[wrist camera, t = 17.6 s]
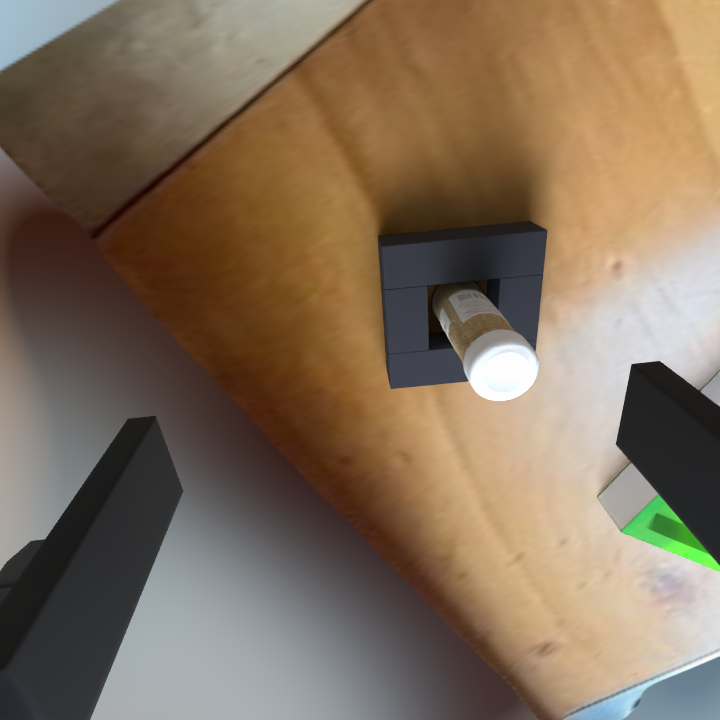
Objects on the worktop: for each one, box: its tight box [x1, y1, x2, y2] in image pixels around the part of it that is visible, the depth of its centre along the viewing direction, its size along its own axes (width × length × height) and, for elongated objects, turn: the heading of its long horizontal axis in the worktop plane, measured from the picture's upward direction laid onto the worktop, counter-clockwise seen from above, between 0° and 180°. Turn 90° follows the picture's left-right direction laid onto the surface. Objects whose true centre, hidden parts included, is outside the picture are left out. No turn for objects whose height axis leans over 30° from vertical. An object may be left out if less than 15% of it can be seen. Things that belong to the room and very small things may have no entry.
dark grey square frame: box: [378, 221, 547, 389], centre depth 40 cm, size 13×13×4 cm
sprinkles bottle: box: [432, 281, 539, 401], centre depth 36 cm, size 5×5×13 cm
